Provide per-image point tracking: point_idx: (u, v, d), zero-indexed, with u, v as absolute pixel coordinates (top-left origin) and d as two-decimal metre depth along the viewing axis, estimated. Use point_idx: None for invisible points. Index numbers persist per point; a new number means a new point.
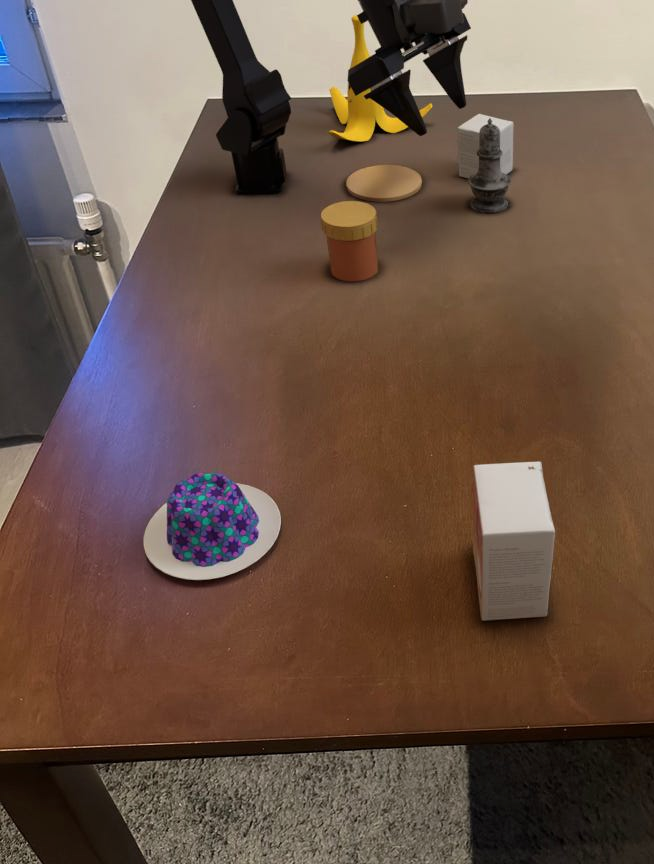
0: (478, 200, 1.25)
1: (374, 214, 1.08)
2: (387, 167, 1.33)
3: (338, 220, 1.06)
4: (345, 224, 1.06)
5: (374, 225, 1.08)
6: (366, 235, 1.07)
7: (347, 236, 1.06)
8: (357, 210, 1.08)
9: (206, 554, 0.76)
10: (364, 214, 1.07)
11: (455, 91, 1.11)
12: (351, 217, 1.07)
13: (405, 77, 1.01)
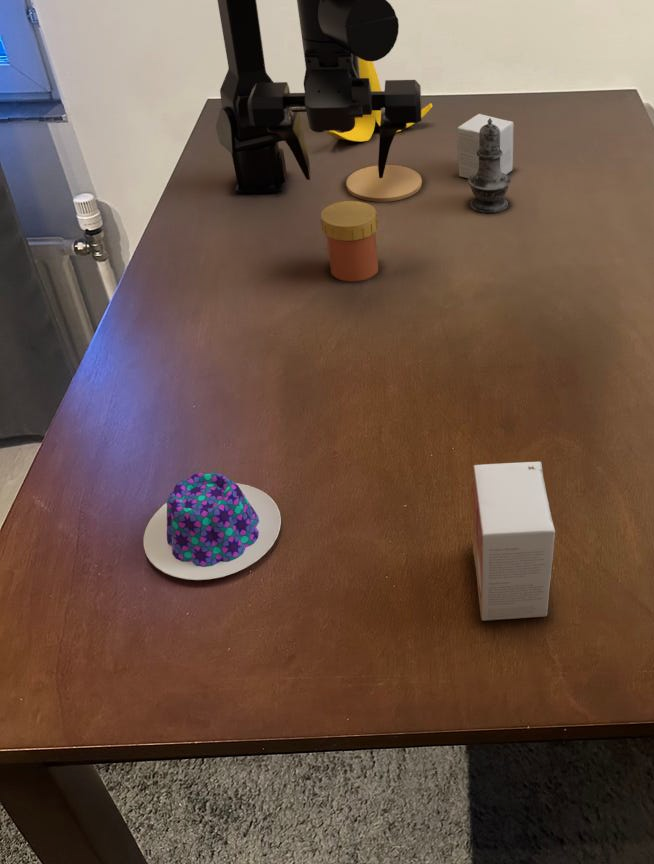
0: (478, 200, 1.25)
1: (374, 214, 1.08)
2: (387, 167, 1.33)
3: (338, 220, 1.06)
4: (345, 224, 1.06)
5: (374, 225, 1.08)
6: (366, 235, 1.07)
7: (347, 236, 1.06)
8: (357, 210, 1.08)
9: (206, 554, 0.76)
10: (364, 214, 1.07)
11: None
12: (351, 217, 1.07)
13: (284, 132, 0.98)
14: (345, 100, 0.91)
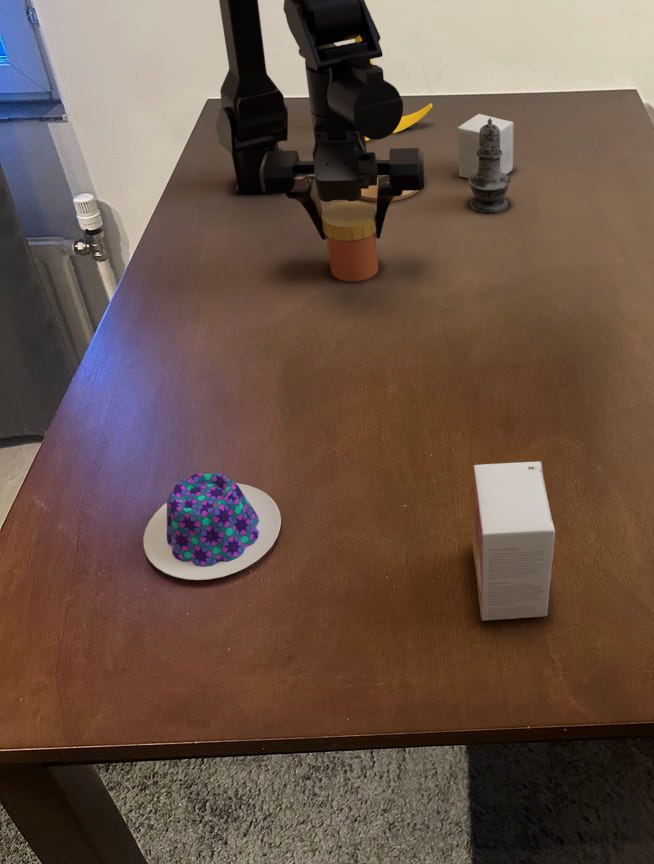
0: (478, 200, 1.25)
1: (374, 214, 1.08)
2: None
3: (338, 220, 1.06)
4: (345, 224, 1.06)
5: (374, 225, 1.08)
6: (366, 235, 1.07)
7: (347, 236, 1.06)
8: (357, 210, 1.08)
9: (206, 554, 0.76)
10: (364, 214, 1.07)
11: None
12: (351, 217, 1.07)
13: (302, 198, 1.03)
14: (352, 173, 0.97)
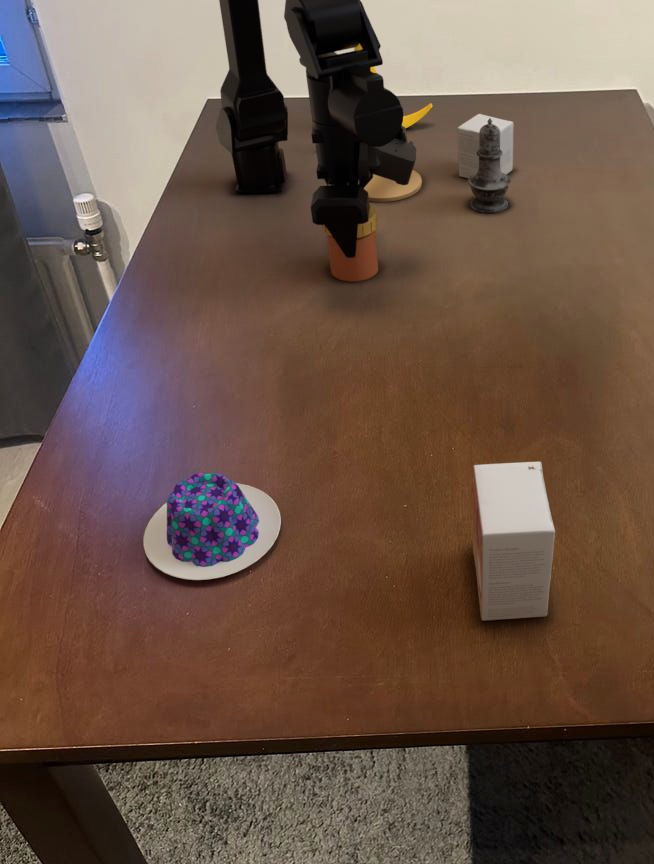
0: (478, 200, 1.25)
1: None
2: None
3: None
4: (371, 212, 1.07)
5: None
6: None
7: (376, 221, 1.08)
8: None
9: (206, 554, 0.76)
10: None
11: None
12: None
13: None
14: (408, 144, 1.04)
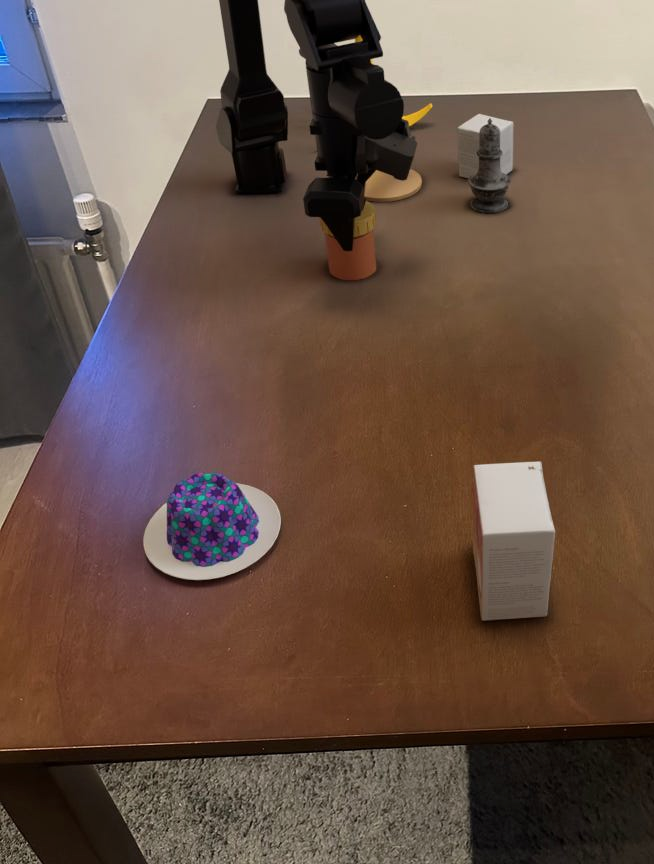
0: (478, 200, 1.25)
1: None
2: None
3: None
4: None
5: None
6: None
7: None
8: None
9: (206, 554, 0.76)
10: None
11: None
12: None
13: None
14: (409, 139, 1.03)
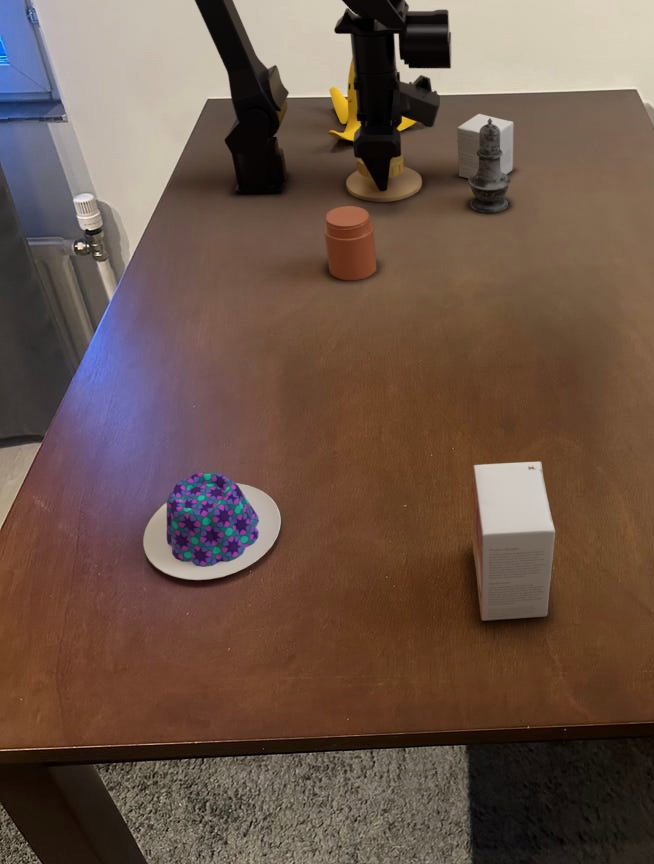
0: (478, 200, 1.25)
1: None
2: None
3: None
4: None
5: None
6: None
7: None
8: None
9: (206, 554, 0.76)
10: None
11: None
12: None
13: None
14: (432, 93, 1.23)
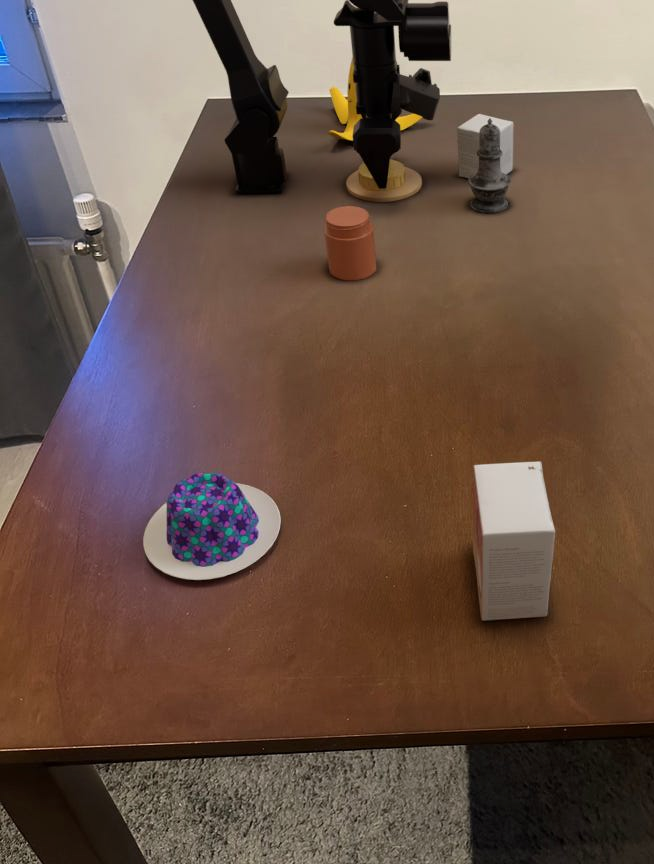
0: (478, 200, 1.25)
1: (359, 167, 1.29)
2: None
3: (389, 163, 1.30)
4: None
5: None
6: None
7: None
8: None
9: (205, 554, 0.76)
10: None
11: None
12: None
13: None
14: (432, 86, 1.23)
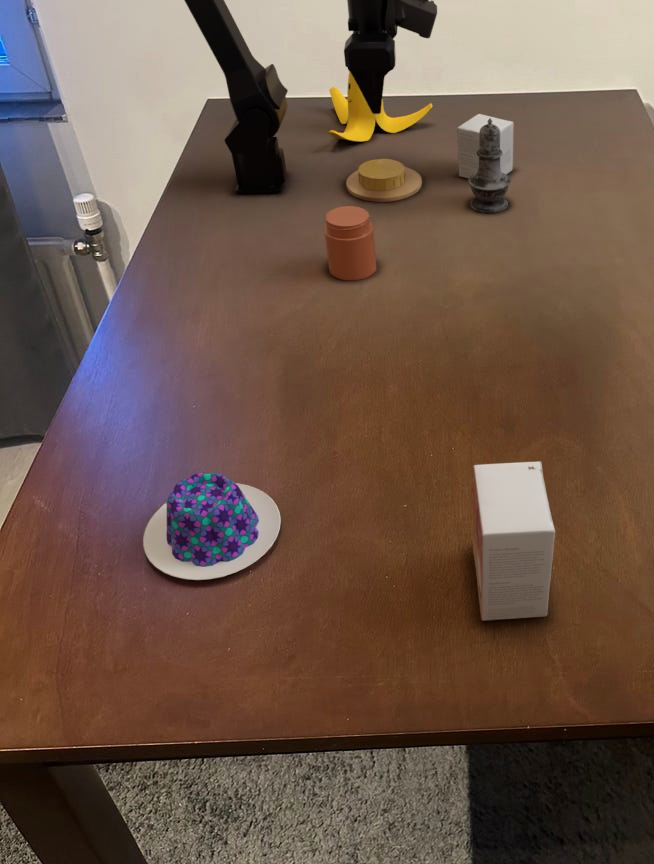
0: (478, 200, 1.25)
1: (359, 167, 1.29)
2: None
3: (389, 163, 1.30)
4: (383, 160, 1.30)
5: None
6: None
7: None
8: (374, 171, 1.28)
9: (205, 554, 0.76)
10: (367, 167, 1.29)
11: None
12: (378, 165, 1.29)
13: None
14: (429, 2, 1.15)
